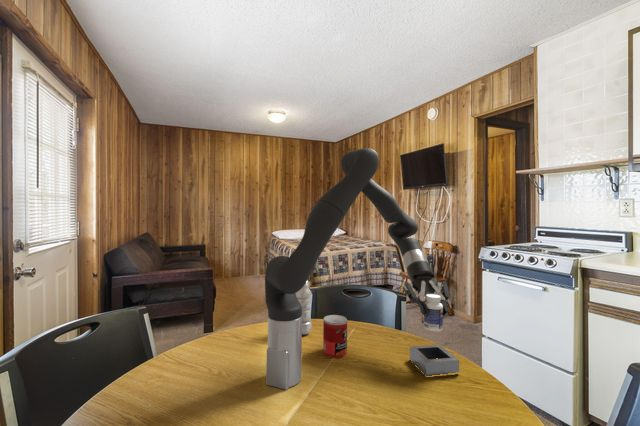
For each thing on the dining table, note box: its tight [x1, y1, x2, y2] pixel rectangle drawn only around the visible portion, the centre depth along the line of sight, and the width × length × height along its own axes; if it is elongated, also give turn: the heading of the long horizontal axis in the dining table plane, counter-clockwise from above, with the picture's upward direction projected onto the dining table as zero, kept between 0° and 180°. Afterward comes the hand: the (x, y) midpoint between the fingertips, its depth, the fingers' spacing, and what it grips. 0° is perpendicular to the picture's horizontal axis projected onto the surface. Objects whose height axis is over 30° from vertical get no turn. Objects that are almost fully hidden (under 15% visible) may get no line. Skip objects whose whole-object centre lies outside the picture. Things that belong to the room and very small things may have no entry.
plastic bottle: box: [296, 279, 313, 336], centre depth 112 cm, size 6×7×20 cm
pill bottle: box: [423, 293, 444, 332], centre depth 88 cm, size 5×5×10 cm
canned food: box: [322, 314, 348, 359], centre depth 97 cm, size 8×8×11 cm
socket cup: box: [409, 344, 460, 376], centre depth 88 cm, size 10×10×4 cm
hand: (436, 314), depth 86 cm, fingers closed on pill bottle, 5 cm apart
